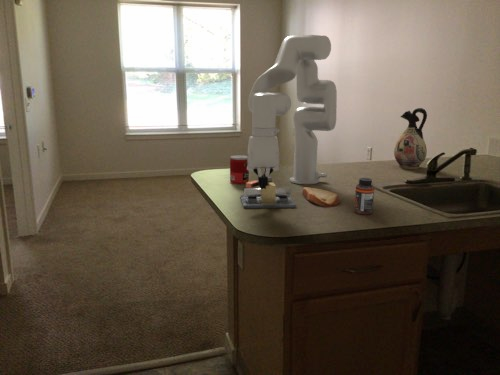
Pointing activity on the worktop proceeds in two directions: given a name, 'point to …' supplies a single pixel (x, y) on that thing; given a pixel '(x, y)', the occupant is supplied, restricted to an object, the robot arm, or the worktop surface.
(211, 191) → the worktop surface
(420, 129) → the ceramic jug
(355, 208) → the supplement bottle
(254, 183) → the lever
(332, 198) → the bread slice
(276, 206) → the valve assembly
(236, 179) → the canned food
